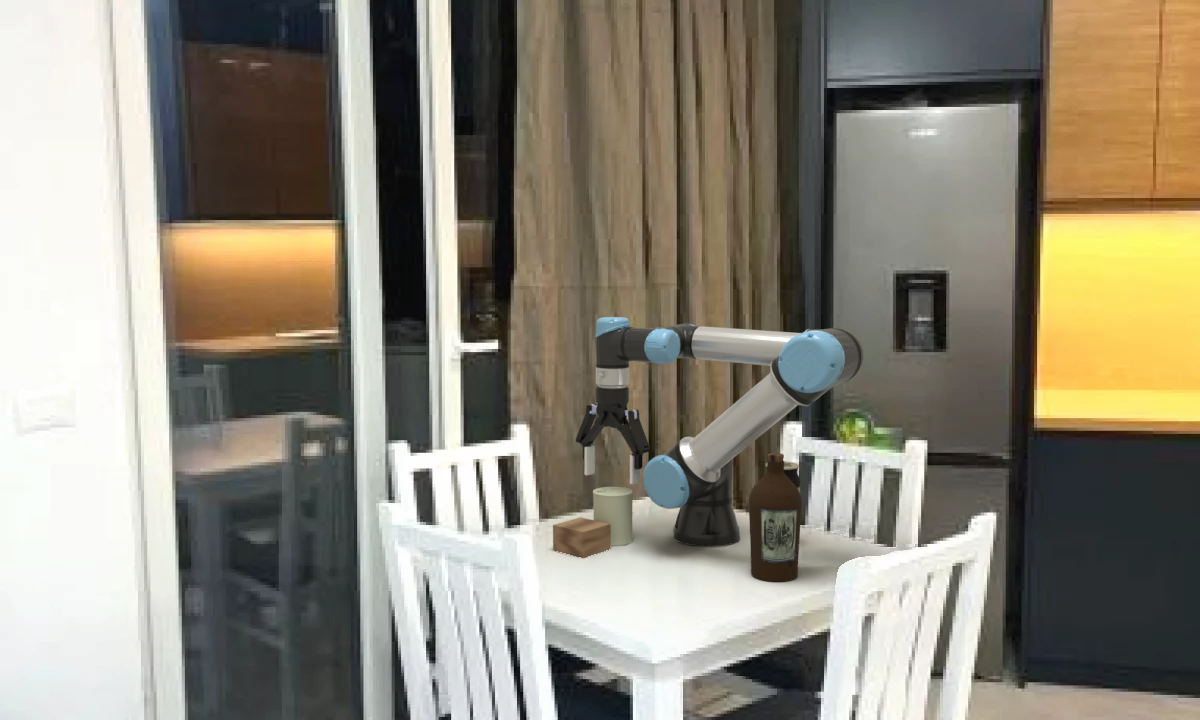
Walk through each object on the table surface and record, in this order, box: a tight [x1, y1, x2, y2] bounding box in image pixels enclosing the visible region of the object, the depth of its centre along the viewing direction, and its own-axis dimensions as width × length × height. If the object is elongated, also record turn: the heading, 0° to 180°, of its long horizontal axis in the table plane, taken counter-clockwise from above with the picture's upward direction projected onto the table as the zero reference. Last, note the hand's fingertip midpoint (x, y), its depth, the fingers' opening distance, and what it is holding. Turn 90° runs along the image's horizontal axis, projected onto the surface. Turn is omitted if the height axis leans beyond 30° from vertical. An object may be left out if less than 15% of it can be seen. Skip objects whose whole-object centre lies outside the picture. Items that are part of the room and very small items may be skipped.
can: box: [592, 486, 634, 547], centre depth 244 cm, size 9×9×12 cm
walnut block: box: [552, 516, 612, 559], centre depth 237 cm, size 9×9×6 cm
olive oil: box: [748, 452, 803, 583], centre depth 217 cm, size 11×11×25 cm
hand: (611, 478), depth 243 cm, fingers open, 13 cm apart
